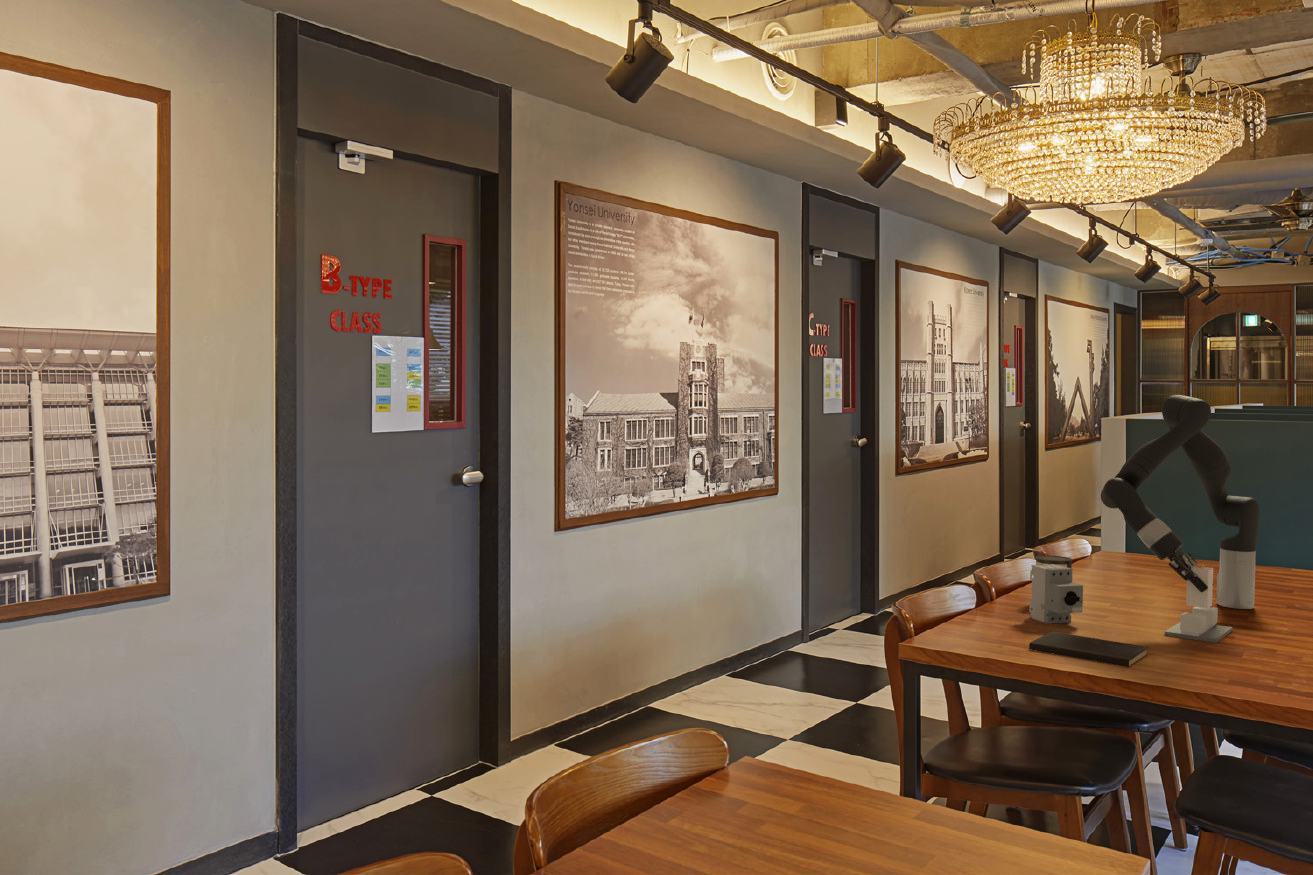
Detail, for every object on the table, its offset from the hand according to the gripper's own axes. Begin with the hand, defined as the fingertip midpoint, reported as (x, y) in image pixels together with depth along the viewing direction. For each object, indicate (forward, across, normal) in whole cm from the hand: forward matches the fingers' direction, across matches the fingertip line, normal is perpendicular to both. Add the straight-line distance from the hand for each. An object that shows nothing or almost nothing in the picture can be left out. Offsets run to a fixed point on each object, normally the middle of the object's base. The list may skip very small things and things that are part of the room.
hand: (1207, 588), depth 254 cm
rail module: (+2, 0, +5) cm, 5 cm away
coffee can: (-22, +11, +40) cm, 47 cm away
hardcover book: (-3, -41, +21) cm, 46 cm away
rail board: (+7, 0, +10) cm, 12 cm away
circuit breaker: (-15, -13, +33) cm, 39 cm away
